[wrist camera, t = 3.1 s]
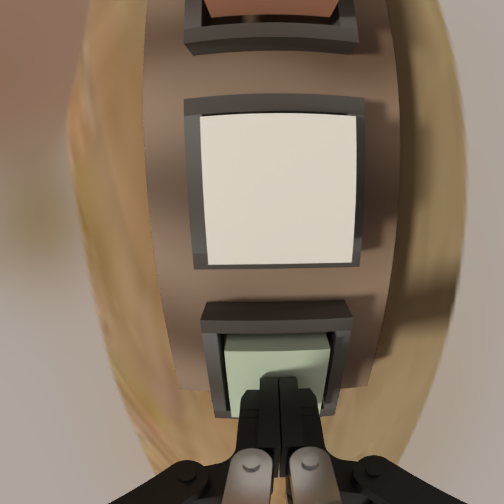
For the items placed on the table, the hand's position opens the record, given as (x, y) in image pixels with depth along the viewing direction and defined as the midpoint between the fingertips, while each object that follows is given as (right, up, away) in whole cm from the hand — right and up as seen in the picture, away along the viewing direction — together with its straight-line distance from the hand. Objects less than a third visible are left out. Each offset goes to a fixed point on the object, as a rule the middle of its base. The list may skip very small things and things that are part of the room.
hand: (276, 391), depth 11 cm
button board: (0, +9, +1) cm, 9 cm away
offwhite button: (0, +8, -2) cm, 8 cm away
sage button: (0, +1, +2) cm, 2 cm away
